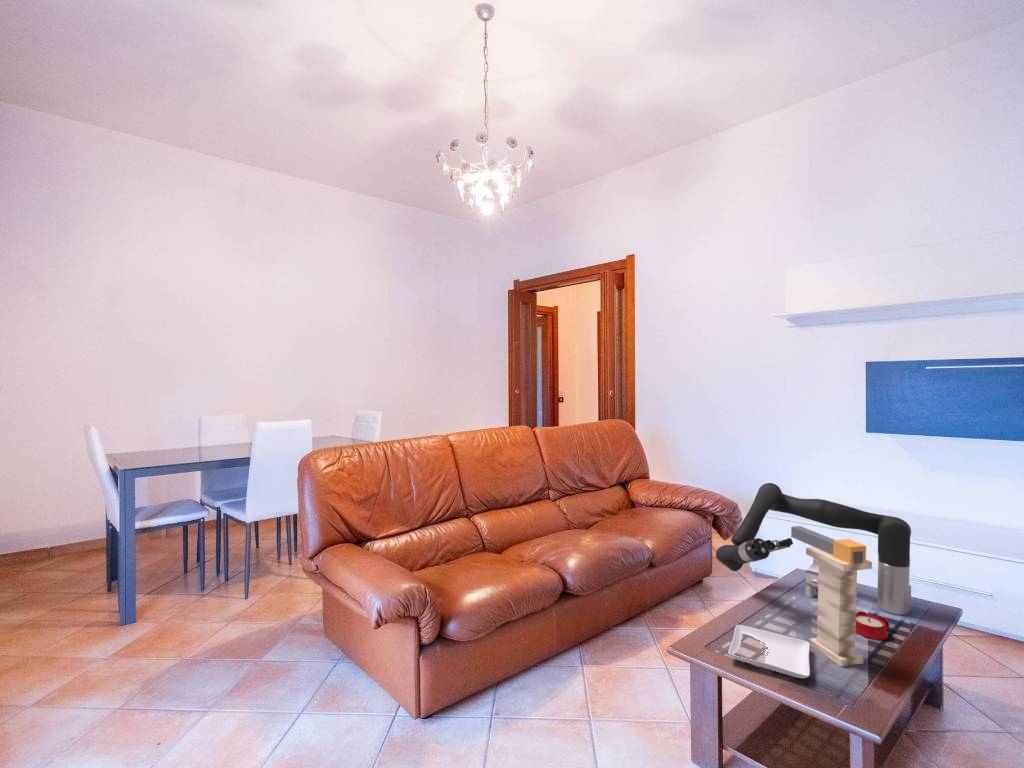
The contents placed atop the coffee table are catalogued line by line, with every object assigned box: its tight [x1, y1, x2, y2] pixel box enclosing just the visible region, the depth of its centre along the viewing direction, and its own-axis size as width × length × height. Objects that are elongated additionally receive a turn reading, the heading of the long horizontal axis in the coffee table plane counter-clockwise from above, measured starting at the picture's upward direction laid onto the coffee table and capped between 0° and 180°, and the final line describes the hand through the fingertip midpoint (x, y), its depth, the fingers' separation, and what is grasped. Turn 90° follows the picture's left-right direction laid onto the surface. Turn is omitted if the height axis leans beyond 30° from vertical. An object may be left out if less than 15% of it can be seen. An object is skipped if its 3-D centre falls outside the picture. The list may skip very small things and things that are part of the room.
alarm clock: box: [855, 610, 890, 641], centre depth 170 cm, size 10×6×15 cm
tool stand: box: [805, 546, 873, 667], centre depth 156 cm, size 10×14×31 cm
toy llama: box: [805, 557, 819, 598], centre depth 198 cm, size 8×18×20 cm, turn 136°
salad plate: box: [727, 624, 811, 679], centre depth 155 cm, size 21×21×3 cm
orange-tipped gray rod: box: [790, 525, 867, 564], centre depth 160 cm, size 6×24×5 cm, turn 12°
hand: (781, 541), depth 178 cm, fingers open, 8 cm apart
